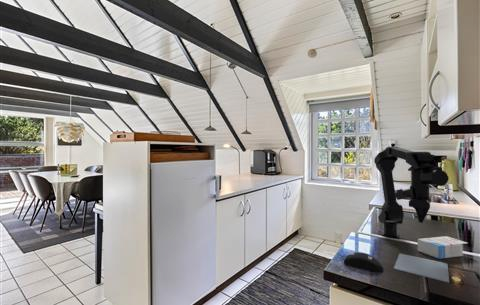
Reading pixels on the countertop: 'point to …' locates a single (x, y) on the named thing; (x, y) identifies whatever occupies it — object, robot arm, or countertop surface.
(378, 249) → the countertop surface
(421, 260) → the mat
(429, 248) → the ink box
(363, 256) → the computer mouse
